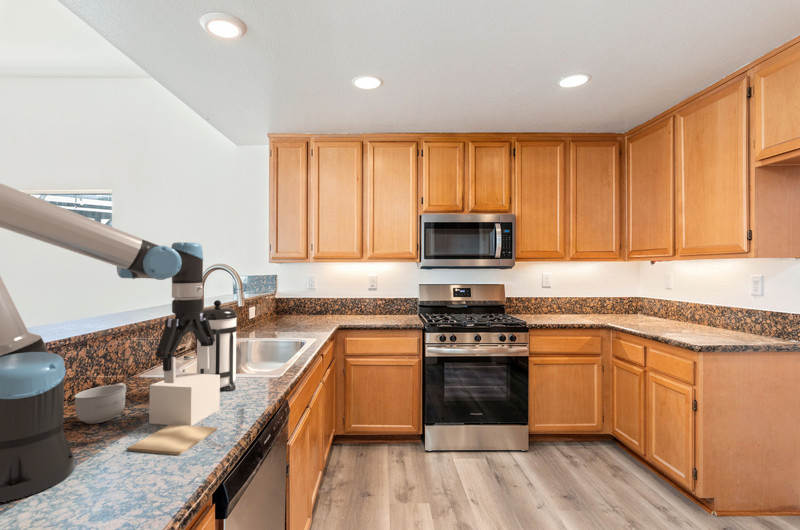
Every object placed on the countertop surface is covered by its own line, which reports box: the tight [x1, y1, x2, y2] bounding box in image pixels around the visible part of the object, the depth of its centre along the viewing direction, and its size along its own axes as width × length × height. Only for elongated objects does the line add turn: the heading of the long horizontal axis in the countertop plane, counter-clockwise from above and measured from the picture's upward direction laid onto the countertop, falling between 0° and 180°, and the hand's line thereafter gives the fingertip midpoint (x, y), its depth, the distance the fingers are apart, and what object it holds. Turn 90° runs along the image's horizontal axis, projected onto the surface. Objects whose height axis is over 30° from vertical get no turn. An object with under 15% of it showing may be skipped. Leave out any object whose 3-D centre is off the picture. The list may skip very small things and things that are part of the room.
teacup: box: [73, 382, 127, 425], centre depth 103 cm, size 14×11×8 cm
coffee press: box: [196, 299, 239, 391], centre depth 128 cm, size 17×16×30 cm
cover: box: [148, 372, 221, 426], centre depth 104 cm, size 12×12×10 cm
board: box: [126, 424, 218, 456], centre depth 90 cm, size 13×13×1 cm
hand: (188, 375), depth 104 cm, fingers open, 13 cm apart
